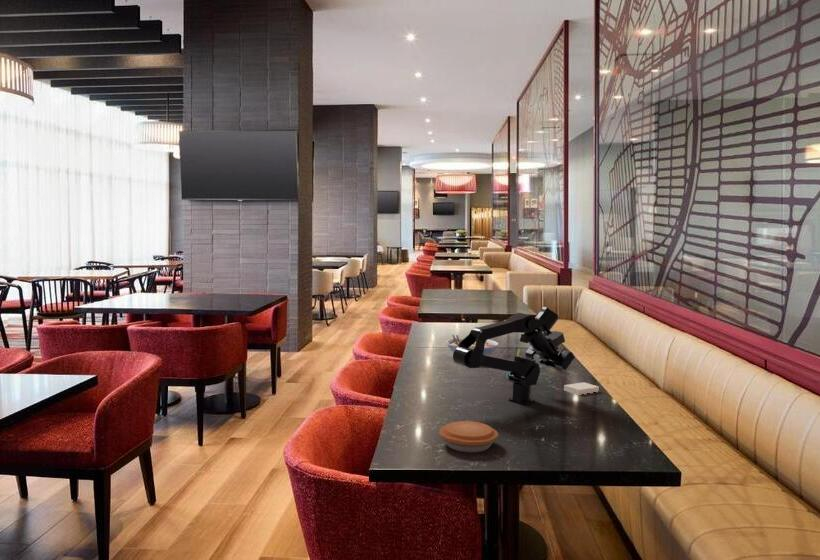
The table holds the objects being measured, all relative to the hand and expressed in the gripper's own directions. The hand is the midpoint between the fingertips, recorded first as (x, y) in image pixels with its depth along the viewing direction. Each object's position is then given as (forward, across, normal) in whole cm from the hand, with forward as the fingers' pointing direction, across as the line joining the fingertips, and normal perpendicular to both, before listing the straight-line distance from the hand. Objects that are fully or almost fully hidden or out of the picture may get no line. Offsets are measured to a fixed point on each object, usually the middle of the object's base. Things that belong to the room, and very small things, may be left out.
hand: (560, 371), depth 212 cm
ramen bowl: (+11, +60, +1) cm, 61 cm away
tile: (+9, 0, +1) cm, 9 cm away
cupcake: (+7, +26, +5) cm, 27 cm away
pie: (-34, -26, +48) cm, 64 cm away
